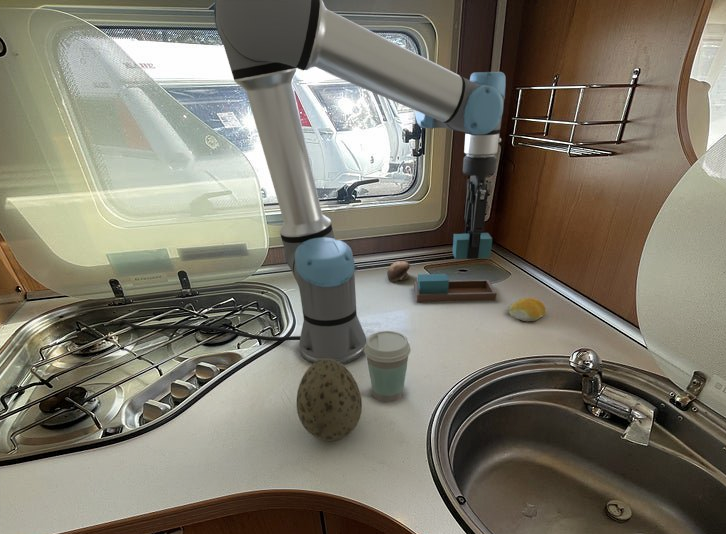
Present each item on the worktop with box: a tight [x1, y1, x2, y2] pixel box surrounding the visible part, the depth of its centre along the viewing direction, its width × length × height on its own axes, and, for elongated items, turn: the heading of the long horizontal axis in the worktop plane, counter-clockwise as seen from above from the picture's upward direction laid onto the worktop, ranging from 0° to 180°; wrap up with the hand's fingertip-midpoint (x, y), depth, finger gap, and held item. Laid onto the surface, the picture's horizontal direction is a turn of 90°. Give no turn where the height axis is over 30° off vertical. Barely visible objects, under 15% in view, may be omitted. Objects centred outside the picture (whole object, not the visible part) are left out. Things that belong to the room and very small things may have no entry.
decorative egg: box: [295, 358, 363, 442], centre depth 70 cm, size 11×11×15 cm
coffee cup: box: [363, 330, 411, 403], centre depth 79 cm, size 8×8×12 cm
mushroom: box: [386, 260, 411, 283], centre depth 128 cm, size 8×8×6 cm
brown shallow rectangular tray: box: [413, 279, 497, 303], centre depth 119 cm, size 22×10×2 cm, turn 91°
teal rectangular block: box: [452, 232, 493, 260], centre depth 110 cm, size 9×5×5 cm, turn 91°
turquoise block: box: [417, 273, 450, 294], centre depth 118 cm, size 8×5×5 cm, turn 91°
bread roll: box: [508, 297, 547, 322], centre depth 108 cm, size 8×9×4 cm
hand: (470, 254), depth 111 cm, fingers closed on teal rectangular block, 5 cm apart
